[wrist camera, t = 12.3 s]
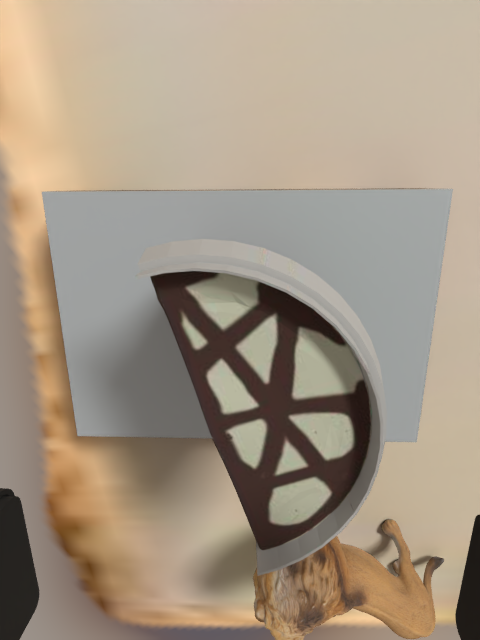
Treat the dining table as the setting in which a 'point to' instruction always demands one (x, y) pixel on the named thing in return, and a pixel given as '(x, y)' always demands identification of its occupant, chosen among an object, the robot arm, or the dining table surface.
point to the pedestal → (253, 229)
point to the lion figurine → (346, 590)
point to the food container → (276, 387)
